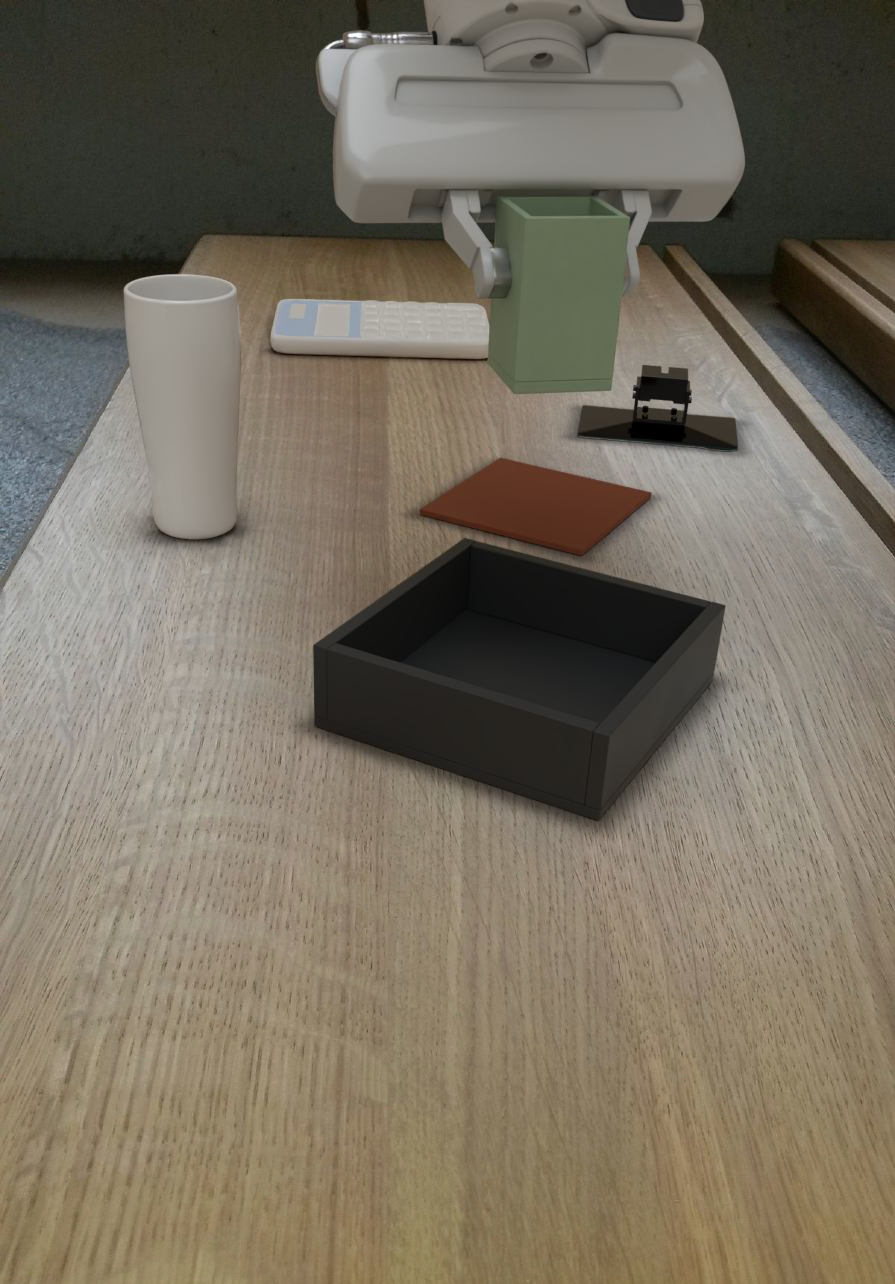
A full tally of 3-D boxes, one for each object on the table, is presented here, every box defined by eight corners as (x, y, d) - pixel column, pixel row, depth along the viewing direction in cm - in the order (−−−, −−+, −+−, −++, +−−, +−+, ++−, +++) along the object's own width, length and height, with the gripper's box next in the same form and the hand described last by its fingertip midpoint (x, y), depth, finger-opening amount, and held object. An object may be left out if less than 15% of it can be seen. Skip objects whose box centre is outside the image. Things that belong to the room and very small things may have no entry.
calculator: (494, 361, 121) (495, 339, 120) (269, 354, 120) (268, 333, 119) (484, 321, 132) (485, 300, 131) (278, 314, 131) (277, 294, 130)
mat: (651, 497, 96) (651, 492, 95) (581, 556, 87) (582, 550, 87) (499, 462, 100) (500, 457, 100) (419, 514, 91) (419, 509, 91)
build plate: (734, 423, 110) (744, 366, 108) (737, 454, 104) (748, 394, 102) (582, 408, 111) (588, 351, 109) (576, 438, 105) (583, 378, 103)
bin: (713, 681, 74) (726, 604, 71) (598, 821, 62) (609, 735, 60) (460, 610, 80) (464, 537, 77) (314, 726, 68) (312, 644, 66)
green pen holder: (579, 361, 70) (595, 195, 66) (611, 391, 66) (630, 217, 62) (487, 363, 69) (496, 195, 65) (513, 394, 65) (525, 218, 61)
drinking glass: (177, 556, 84) (158, 308, 76) (124, 521, 88) (100, 282, 80) (269, 532, 88) (260, 292, 80) (213, 499, 92) (200, 268, 84)
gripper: (317, -19, 62) (354, 256, 60) (731, -4, 66) (781, 251, 64) (304, 78, 68) (337, 331, 66) (684, 85, 73) (728, 322, 70)
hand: (560, 291), depth 65 cm, fingers closed on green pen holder, 5 cm apart
